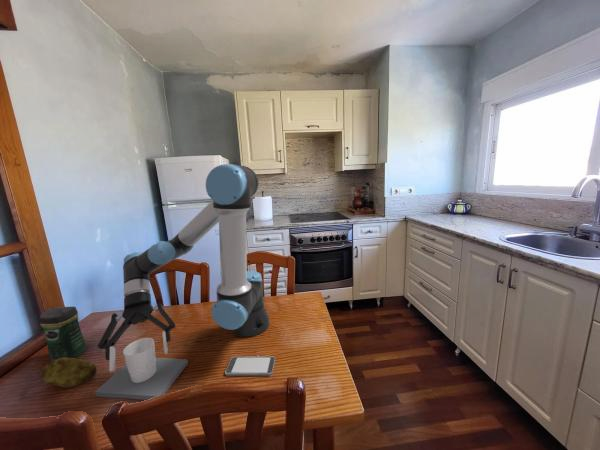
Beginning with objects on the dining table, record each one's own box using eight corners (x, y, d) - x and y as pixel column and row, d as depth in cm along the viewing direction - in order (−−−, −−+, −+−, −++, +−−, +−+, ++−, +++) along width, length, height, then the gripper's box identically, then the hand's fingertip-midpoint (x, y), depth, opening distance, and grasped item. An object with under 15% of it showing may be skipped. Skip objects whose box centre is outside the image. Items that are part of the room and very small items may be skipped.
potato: (75, 395, 70) (68, 372, 69) (38, 392, 72) (32, 368, 71) (101, 373, 79) (96, 351, 77) (68, 370, 80) (63, 349, 79)
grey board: (187, 363, 81) (187, 359, 81) (159, 401, 67) (158, 396, 67) (134, 360, 84) (133, 356, 83) (96, 396, 70) (95, 391, 70)
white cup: (138, 366, 79) (133, 338, 77) (163, 363, 79) (158, 336, 77) (123, 386, 71) (116, 356, 69) (150, 383, 72) (145, 353, 70)
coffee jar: (91, 347, 92) (81, 302, 88) (71, 362, 84) (59, 314, 80) (67, 347, 92) (55, 303, 88) (45, 363, 84) (31, 315, 81)
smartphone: (231, 356, 82) (275, 356, 81) (232, 359, 82) (275, 359, 82) (224, 373, 75) (271, 373, 74) (224, 376, 75) (272, 376, 74)
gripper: (178, 290, 91) (186, 349, 81) (94, 309, 79) (91, 380, 69) (177, 282, 85) (185, 344, 75) (86, 301, 74) (81, 377, 63)
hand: (140, 362), depth 72 cm, fingers open, 13 cm apart
